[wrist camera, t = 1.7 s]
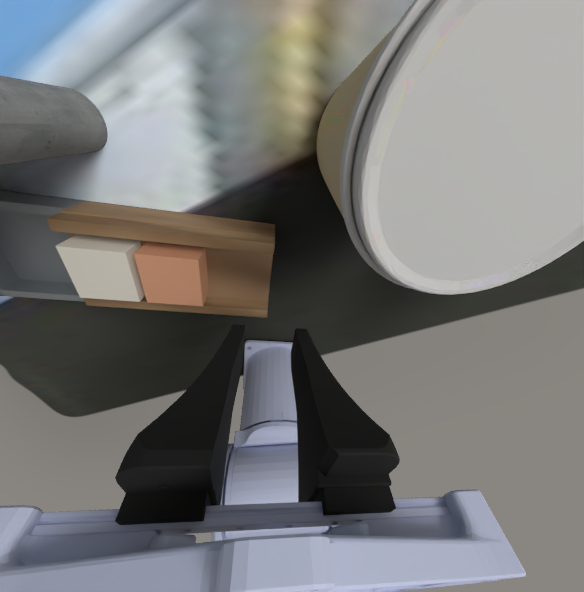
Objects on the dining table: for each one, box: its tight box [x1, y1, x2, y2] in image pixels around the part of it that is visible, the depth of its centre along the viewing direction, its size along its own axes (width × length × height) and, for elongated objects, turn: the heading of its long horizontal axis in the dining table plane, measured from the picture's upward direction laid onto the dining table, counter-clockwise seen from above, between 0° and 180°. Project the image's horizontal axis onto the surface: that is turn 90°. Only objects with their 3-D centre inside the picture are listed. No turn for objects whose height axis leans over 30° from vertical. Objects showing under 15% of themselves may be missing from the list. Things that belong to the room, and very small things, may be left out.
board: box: [46, 201, 275, 318], centre depth 19 cm, size 7×14×4 cm, turn 82°
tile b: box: [56, 234, 145, 302], centre depth 17 cm, size 4×4×2 cm
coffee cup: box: [317, 0, 584, 295], centre depth 11 cm, size 9×9×12 cm
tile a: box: [134, 241, 209, 306], centre depth 17 cm, size 4×4×2 cm
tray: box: [0, 190, 85, 302], centre depth 18 cm, size 8×8×2 cm
